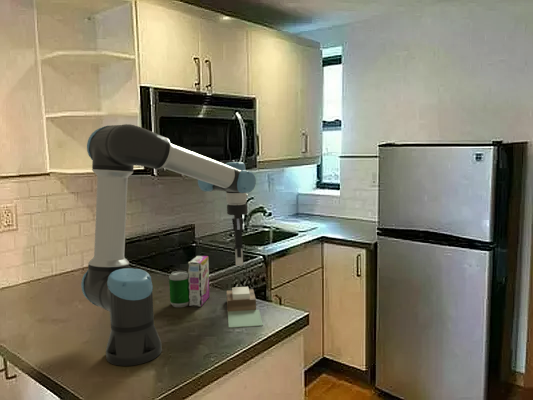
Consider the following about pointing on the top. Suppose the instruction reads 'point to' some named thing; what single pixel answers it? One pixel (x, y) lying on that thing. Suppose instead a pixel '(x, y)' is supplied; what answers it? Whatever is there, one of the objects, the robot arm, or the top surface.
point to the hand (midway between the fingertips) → (239, 264)
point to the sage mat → (244, 318)
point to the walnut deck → (241, 302)
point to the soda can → (179, 288)
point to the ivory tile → (240, 293)
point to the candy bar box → (198, 280)
